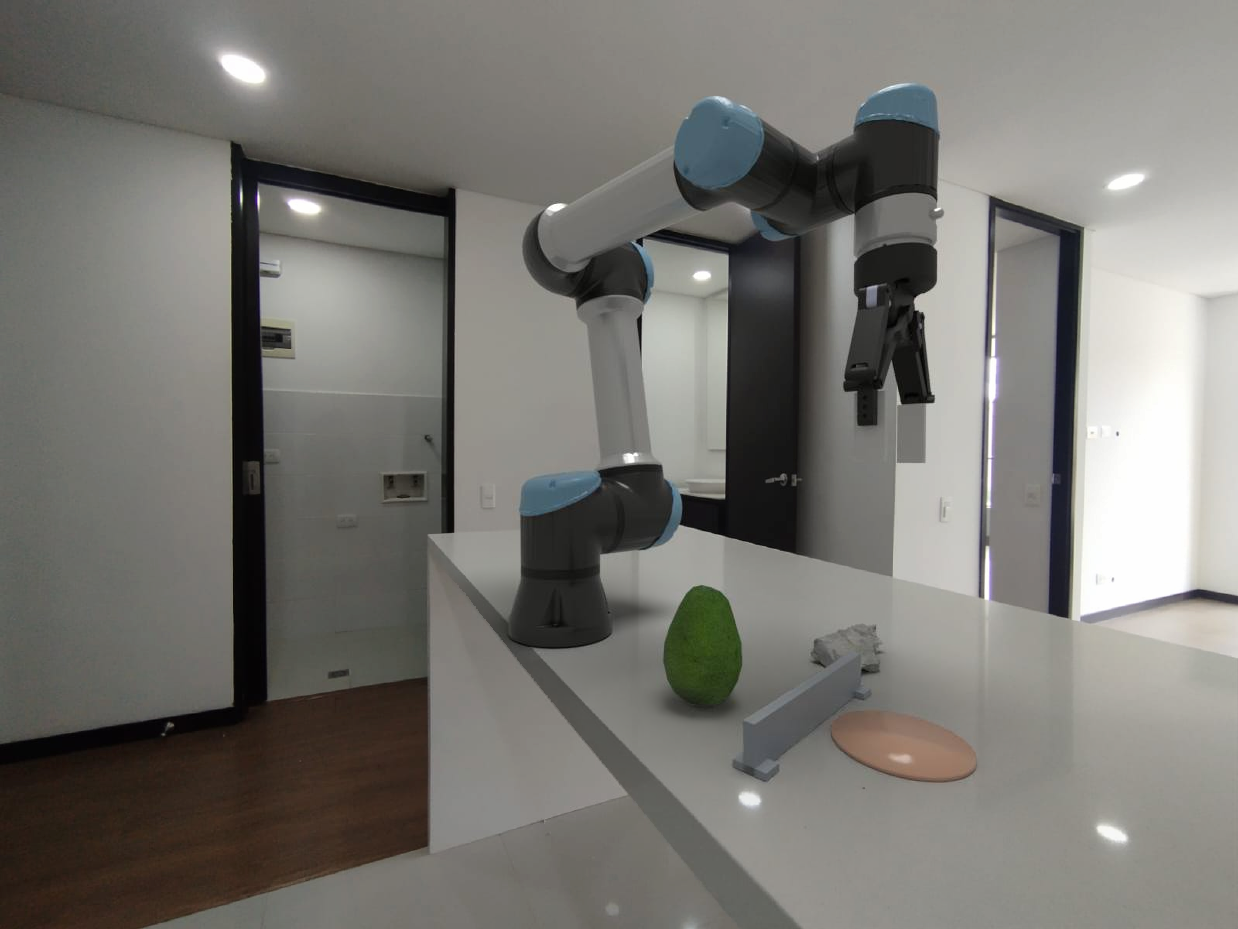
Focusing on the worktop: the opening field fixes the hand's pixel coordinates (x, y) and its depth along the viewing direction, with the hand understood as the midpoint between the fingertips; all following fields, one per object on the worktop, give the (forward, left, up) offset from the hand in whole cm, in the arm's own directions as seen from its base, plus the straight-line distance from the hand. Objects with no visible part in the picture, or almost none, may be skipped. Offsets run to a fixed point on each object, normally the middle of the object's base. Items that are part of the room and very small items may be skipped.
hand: (892, 463), depth 54 cm
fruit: (-14, -13, -25) cm, 31 cm away
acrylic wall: (-4, -10, -24) cm, 27 cm away
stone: (-7, +9, -25) cm, 27 cm away
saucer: (+3, -8, -24) cm, 26 cm away
